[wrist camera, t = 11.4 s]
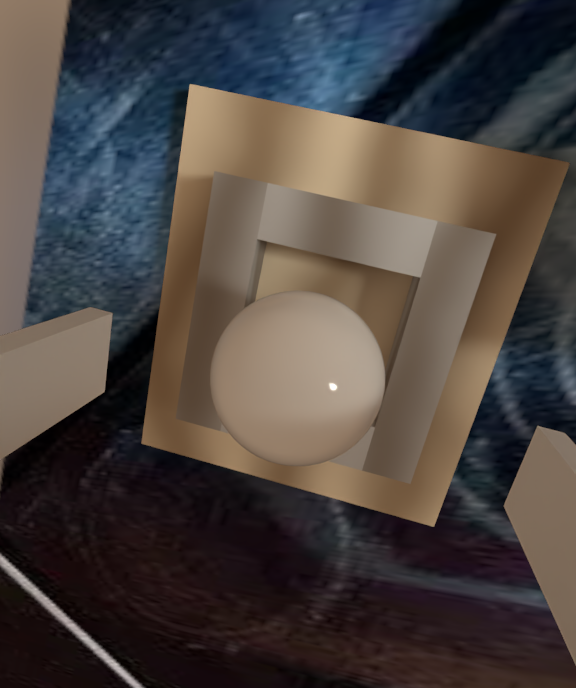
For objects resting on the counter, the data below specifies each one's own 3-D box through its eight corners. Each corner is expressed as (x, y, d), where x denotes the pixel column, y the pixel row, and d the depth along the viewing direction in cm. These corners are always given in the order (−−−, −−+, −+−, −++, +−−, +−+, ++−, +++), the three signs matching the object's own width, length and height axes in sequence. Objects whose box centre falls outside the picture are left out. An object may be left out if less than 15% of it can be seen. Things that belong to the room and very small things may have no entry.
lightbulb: (361, 393, 25) (355, 528, 15) (250, 362, 26) (169, 471, 15) (395, 281, 23) (417, 345, 13) (274, 250, 24) (199, 287, 13)
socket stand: (560, 165, 21) (597, 155, 18) (431, 516, 27) (440, 557, 24) (196, 89, 23) (168, 68, 20) (148, 435, 29) (120, 464, 26)
